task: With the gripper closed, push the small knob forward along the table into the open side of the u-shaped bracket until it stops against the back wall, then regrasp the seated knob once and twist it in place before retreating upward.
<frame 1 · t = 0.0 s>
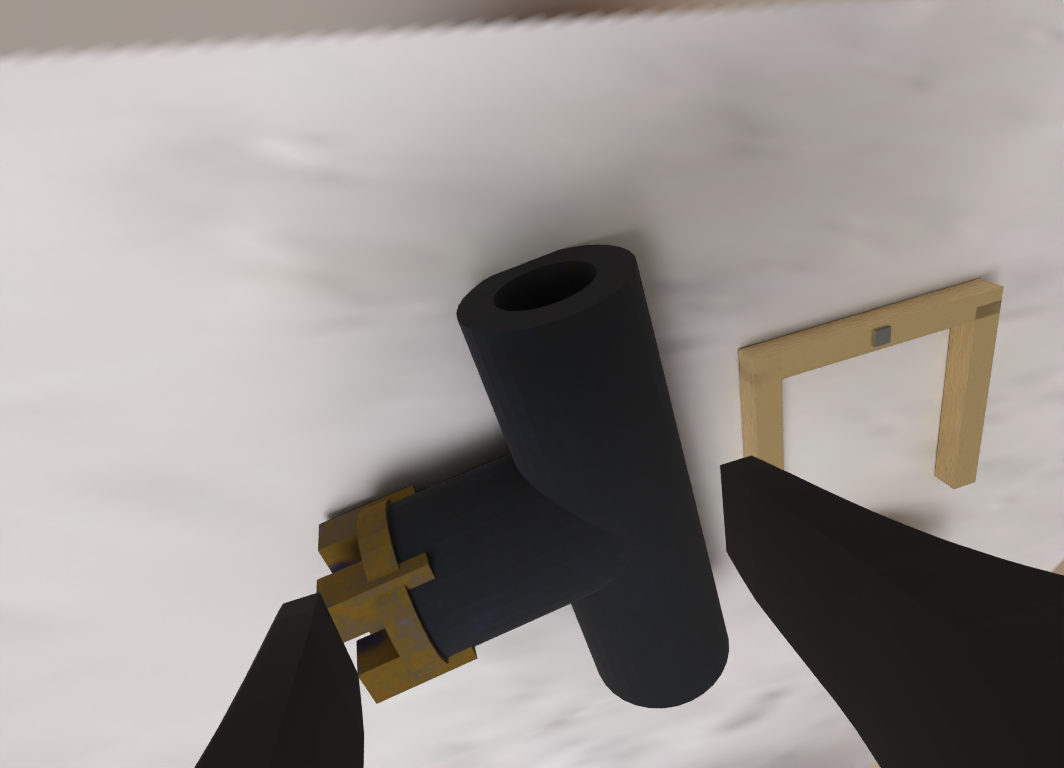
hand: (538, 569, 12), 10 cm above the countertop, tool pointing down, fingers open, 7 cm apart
pipe connector: (500, 487, 24), on the countertop
u-shaped bracket: (857, 426, 26), on the countertop
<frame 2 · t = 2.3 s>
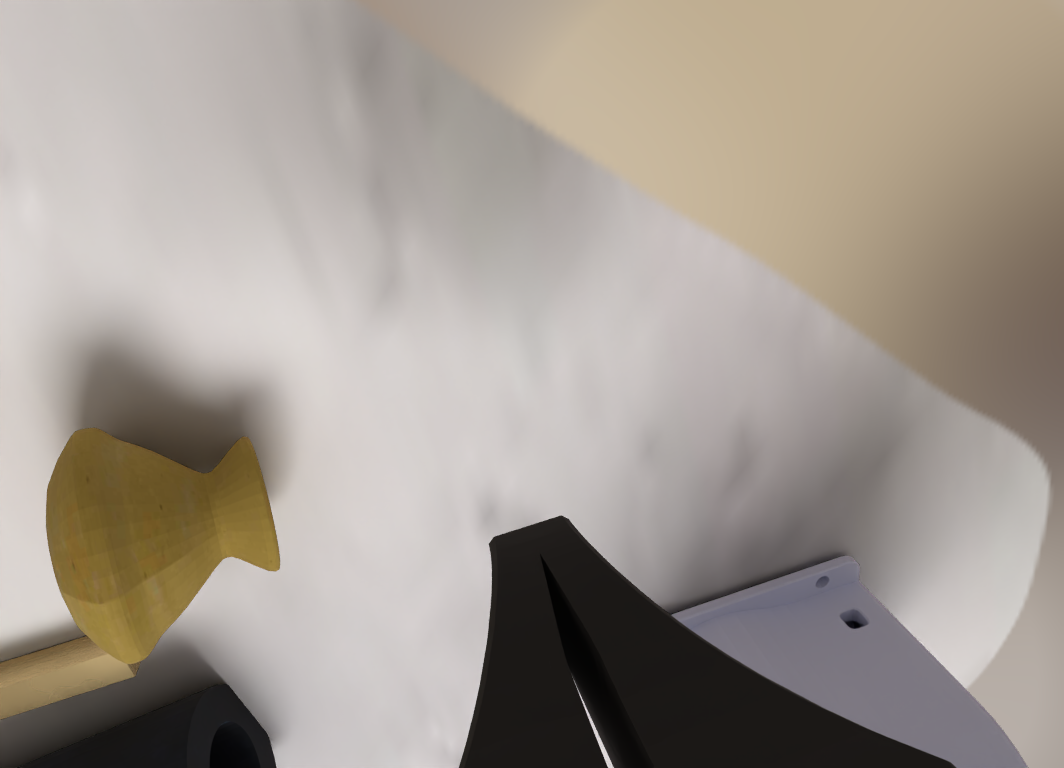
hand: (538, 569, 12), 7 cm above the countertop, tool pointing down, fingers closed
knob: (193, 472, 17), on the countertop
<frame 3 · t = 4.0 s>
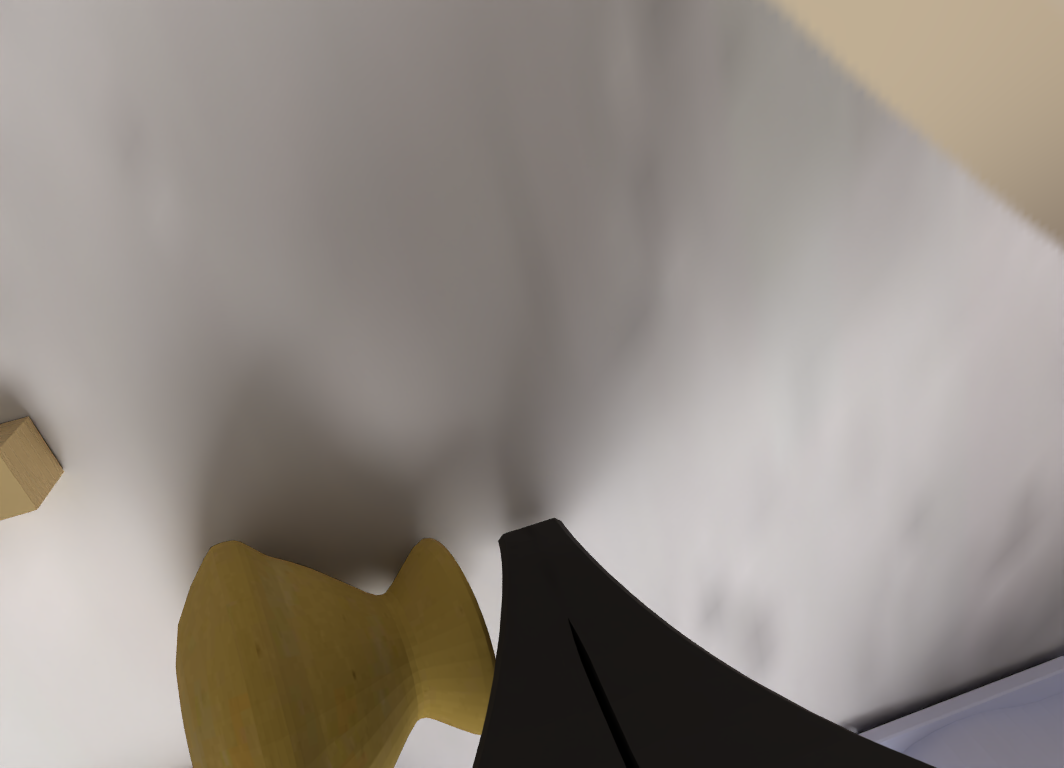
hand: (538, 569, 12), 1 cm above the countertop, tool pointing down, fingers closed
knob: (343, 578, 13), on the countertop, touching gripper
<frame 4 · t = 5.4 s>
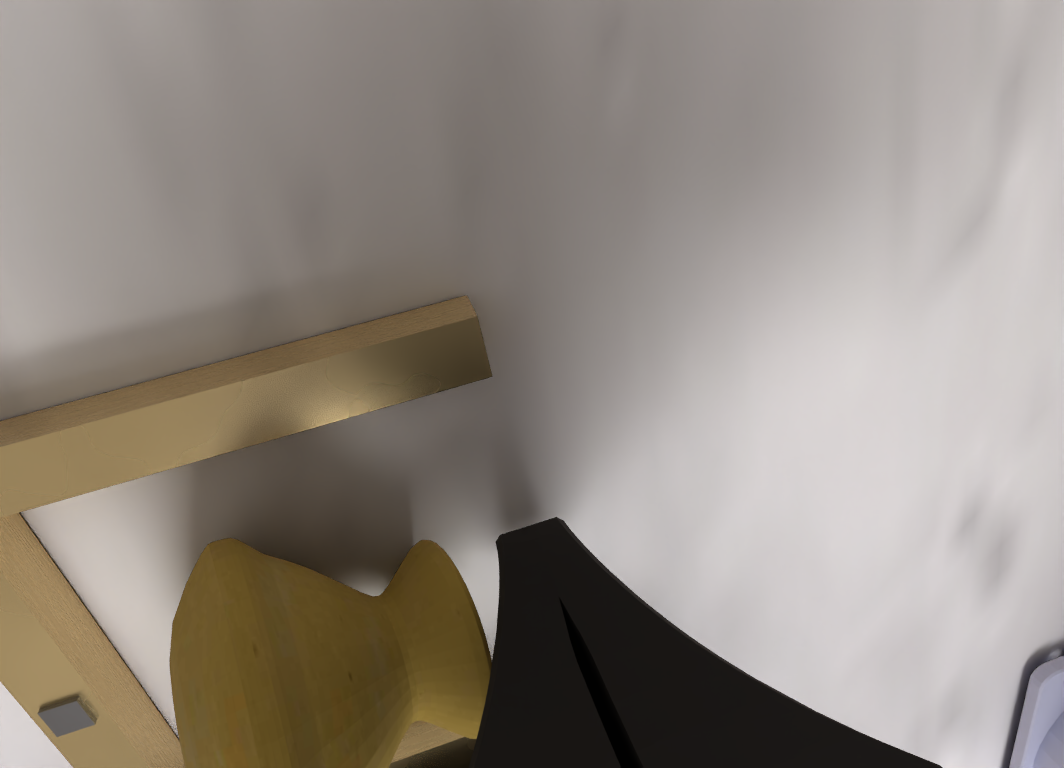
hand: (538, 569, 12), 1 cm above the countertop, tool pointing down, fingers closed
knob: (338, 578, 12), on the countertop, touching gripper
u-shaped bracket: (330, 589, 12), on the countertop
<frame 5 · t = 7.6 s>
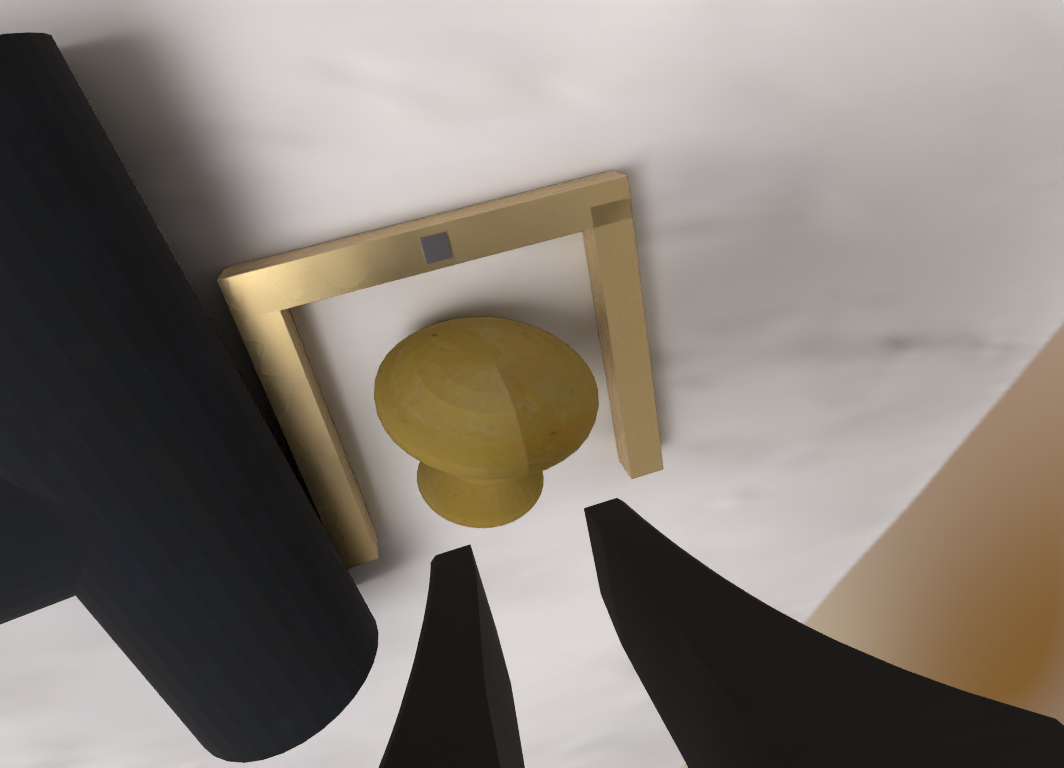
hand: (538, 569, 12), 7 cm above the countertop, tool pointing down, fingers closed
knob: (470, 383, 18), on the countertop
pipe connector: (37, 438, 17), on the countertop
u-shaped bracket: (472, 389, 18), on the countertop
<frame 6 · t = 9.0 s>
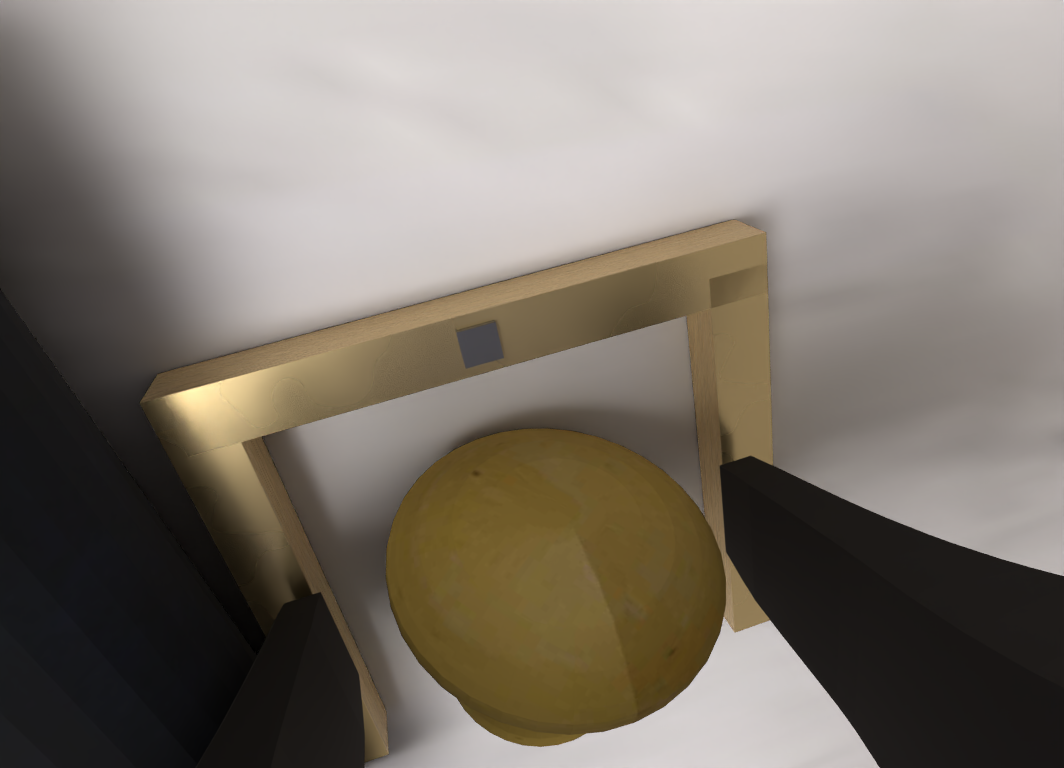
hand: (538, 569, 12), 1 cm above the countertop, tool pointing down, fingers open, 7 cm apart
knob: (517, 511, 13), on the countertop
u-shaped bracket: (520, 521, 13), on the countertop
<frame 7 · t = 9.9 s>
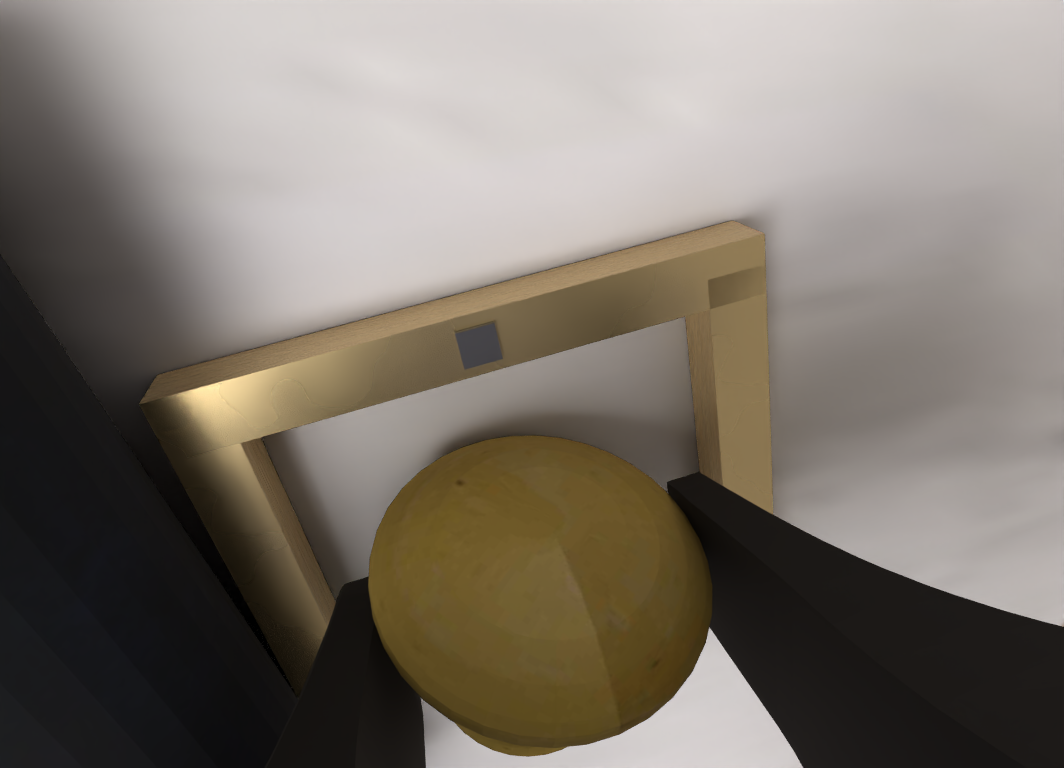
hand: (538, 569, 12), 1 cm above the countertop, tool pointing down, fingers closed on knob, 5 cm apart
knob: (505, 518, 13), on the countertop, touching gripper
u-shaped bracket: (519, 522, 13), on the countertop
when the fingers open (1 cm above the countertop, at t = 11.1 s): knob stays where it is, on the countertop.
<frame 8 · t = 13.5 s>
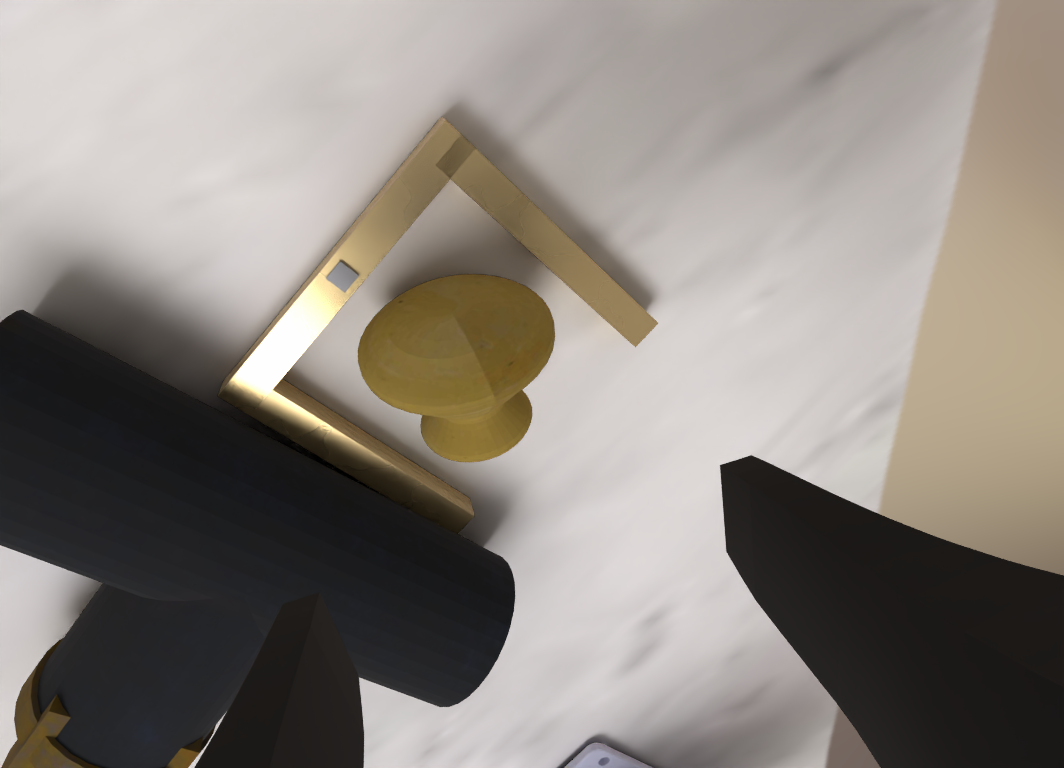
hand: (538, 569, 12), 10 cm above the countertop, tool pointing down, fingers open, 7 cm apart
knob: (453, 339, 20), on the countertop
pipe connector: (210, 553, 22), on the countertop
u-shaped bracket: (459, 354, 20), on the countertop
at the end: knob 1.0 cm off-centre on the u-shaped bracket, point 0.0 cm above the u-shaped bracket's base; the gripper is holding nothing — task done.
